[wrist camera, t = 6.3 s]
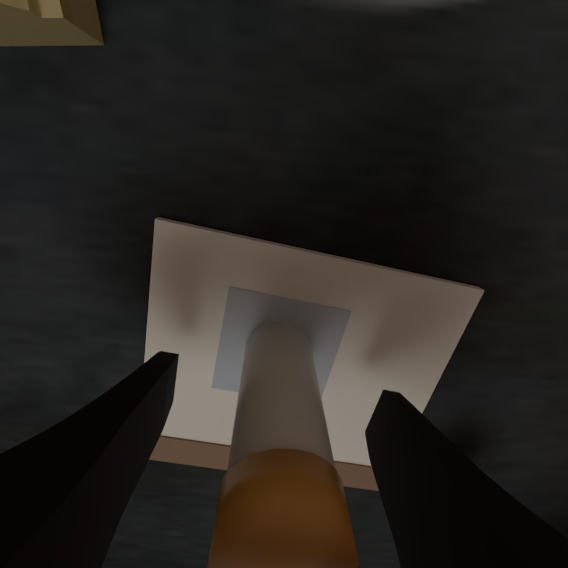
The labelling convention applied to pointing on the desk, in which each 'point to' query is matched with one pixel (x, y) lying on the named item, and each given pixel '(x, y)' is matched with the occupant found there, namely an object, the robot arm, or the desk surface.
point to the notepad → (306, 315)
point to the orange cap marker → (281, 465)
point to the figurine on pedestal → (49, 23)
